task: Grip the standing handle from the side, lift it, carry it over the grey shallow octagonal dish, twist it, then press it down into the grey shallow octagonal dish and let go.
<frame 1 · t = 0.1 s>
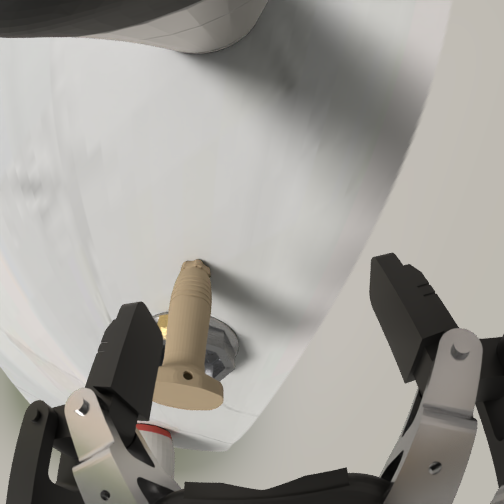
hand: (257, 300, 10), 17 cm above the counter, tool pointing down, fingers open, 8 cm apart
grey shallow octagonal dish: (188, 343, 39), on the counter
citrus juicer: (147, 428, 66), on the counter
handle: (195, 267, 31), on the counter
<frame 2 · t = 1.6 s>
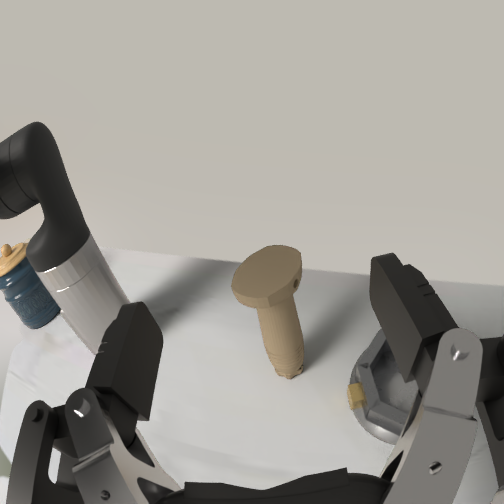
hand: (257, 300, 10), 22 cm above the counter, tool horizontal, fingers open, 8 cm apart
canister: (45, 310, 51), on the counter
grey shallow octagonal dish: (412, 385, 25), on the counter
handle: (290, 369, 31), on the counter
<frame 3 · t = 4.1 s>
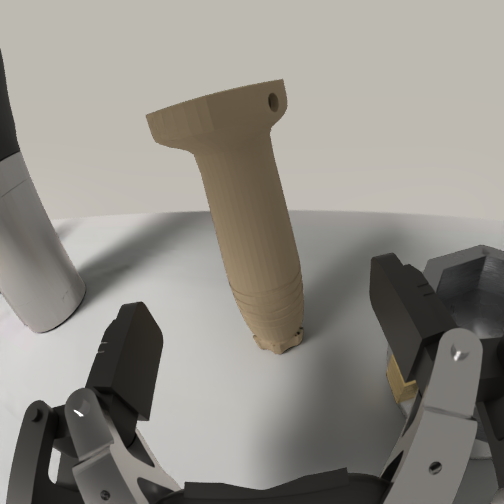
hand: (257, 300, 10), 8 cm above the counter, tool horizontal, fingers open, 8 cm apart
grey shallow octagonal dish: (487, 352, 12), on the counter
handle: (280, 338, 19), on the counter
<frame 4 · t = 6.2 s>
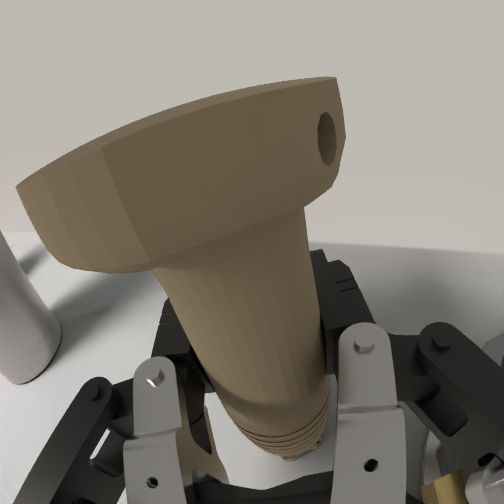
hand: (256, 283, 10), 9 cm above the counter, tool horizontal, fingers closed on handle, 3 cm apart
handle: (292, 436, 13), on the counter, touching gripper
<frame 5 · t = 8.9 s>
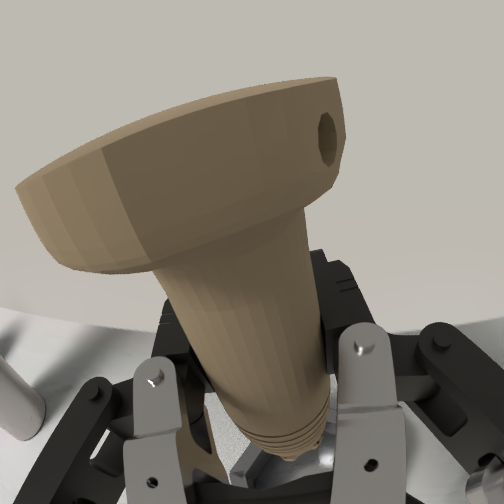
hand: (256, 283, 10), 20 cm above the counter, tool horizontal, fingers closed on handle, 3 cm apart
grey shallow octagonal dish: (316, 484, 18), on the counter
handle: (292, 436, 13), point 11 cm above the counter, touching gripper
when the fingers open (10 cm above the counter, at t = 11.8 s): handle stays where it is, resting on grey shallow octagonal dish.
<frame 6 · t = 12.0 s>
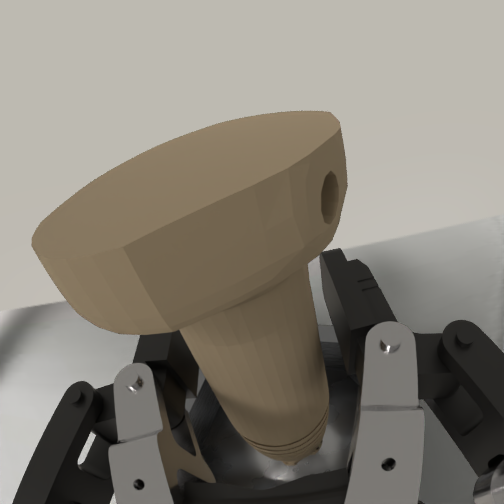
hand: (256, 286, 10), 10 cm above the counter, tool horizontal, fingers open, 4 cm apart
grey shallow octagonal dish: (294, 442, 14), on the counter
handle: (293, 442, 13), resting on grey shallow octagonal dish
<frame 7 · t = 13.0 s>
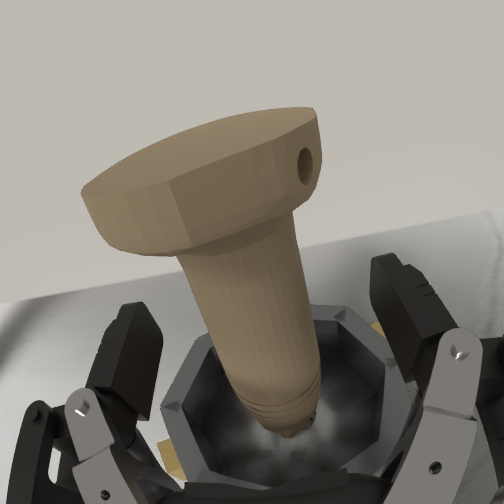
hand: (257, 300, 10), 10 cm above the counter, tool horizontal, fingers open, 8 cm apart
grey shallow octagonal dish: (290, 417, 15), on the counter
handle: (289, 416, 15), resting on grey shallow octagonal dish
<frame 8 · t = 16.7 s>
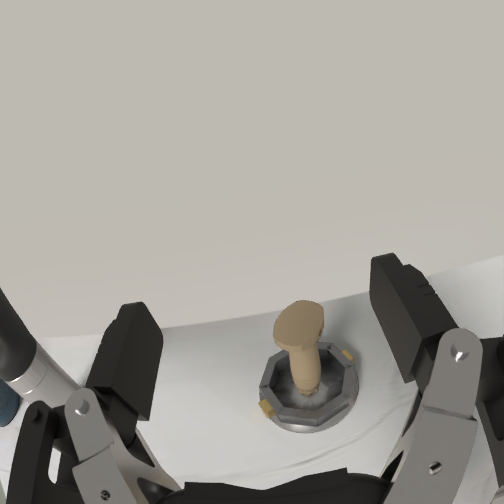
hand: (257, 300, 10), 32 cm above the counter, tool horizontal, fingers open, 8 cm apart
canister: (5, 407, 40), on the counter
grey shallow octagonal dish: (308, 389, 38), on the counter
handle: (308, 388, 38), resting on grey shallow octagonal dish
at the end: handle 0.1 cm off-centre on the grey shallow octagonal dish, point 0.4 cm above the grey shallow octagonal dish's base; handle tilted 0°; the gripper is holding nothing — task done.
